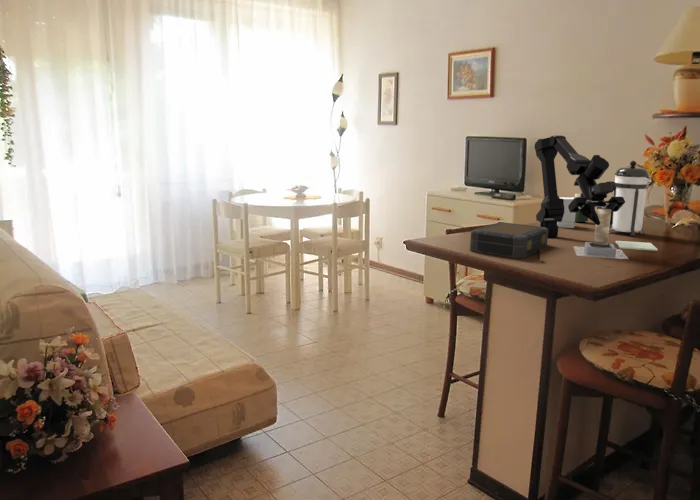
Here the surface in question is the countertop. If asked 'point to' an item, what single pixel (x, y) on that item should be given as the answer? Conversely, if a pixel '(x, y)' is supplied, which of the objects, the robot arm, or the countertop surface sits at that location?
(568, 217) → the supplement box
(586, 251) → the grey square socket base
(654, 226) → the countertop surface
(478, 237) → the cash box
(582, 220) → the character mug
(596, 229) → the ash peg
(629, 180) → the coffee press
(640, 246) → the green pad
